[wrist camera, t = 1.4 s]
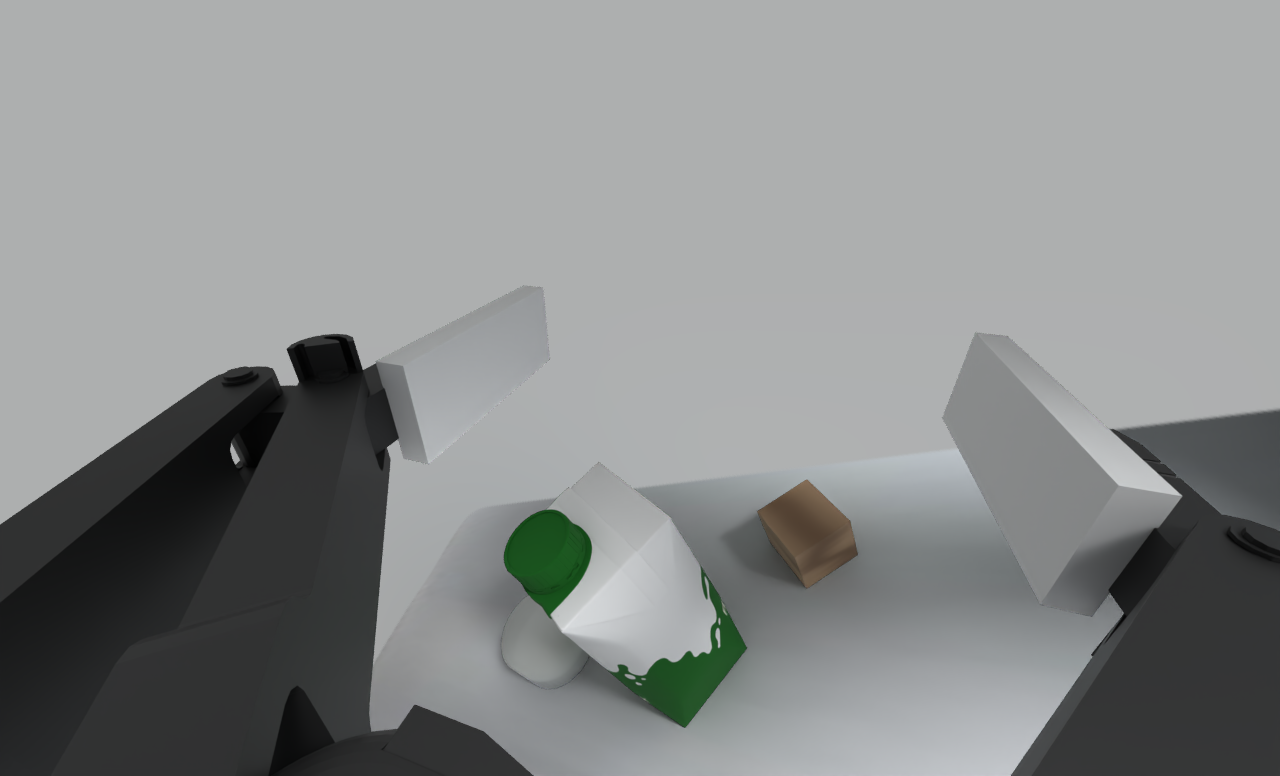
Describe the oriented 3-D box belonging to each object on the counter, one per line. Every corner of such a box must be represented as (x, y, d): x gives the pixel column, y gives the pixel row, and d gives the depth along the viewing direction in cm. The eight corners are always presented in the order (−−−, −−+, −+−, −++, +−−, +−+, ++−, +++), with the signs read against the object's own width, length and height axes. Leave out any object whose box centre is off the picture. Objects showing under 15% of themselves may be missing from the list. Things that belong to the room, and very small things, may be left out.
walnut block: (816, 512, 41) (806, 479, 38) (858, 555, 37) (850, 521, 34) (770, 543, 41) (757, 511, 38) (807, 589, 36) (794, 557, 34)
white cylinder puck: (595, 598, 43) (576, 578, 41) (592, 681, 38) (569, 663, 36) (532, 615, 45) (509, 596, 43) (519, 696, 39) (493, 680, 37)
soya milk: (616, 659, 38) (473, 530, 27) (688, 577, 41) (587, 429, 30) (685, 751, 32) (535, 632, 20) (765, 645, 35) (674, 489, 23)
